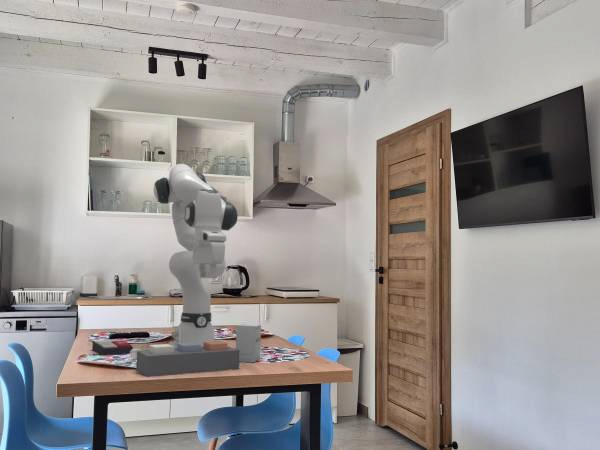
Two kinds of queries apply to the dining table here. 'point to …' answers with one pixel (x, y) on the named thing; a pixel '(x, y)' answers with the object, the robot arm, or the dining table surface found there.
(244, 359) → the supplement box
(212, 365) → the key console
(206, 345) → the terracotta key
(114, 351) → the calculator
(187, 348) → the slate key
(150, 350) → the cream key
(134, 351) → the white curved piece
